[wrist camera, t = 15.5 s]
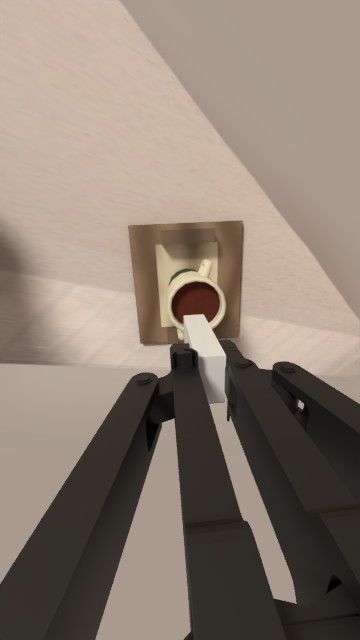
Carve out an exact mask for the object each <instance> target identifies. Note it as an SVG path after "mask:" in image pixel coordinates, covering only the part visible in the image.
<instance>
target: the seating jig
mask: <svg viewBox="0 0 360 640" xmlns="http://www.w3.org/2000/svg"><path fill="white" fill-rule="evenodd" d="M242 225H243V221H223V222H200V223H177V224H154V225H131V226H128V229H129V239H130V248H131V258H132V267H133V276H134V286H135V295H136V305H137V314H138V323H139V333H140V342H141V344H142V343H157V342H168V344H169V343H184V340H180V339H179V338H178V332H177V329H178V328H177V327H176V326H175V325H174V324H173V323H172V321H171V320H170V318H169V314H168V311H167V299H166V298H167V290H168V287H169V283H170V280H171V277H172V276H173V275H174V274H175V273H176V272H177V271H180V270H182V269H185V268H187V269H194V270H196V271H199V268H200V265H201V263H202V261H203V260H204V259H208V260H210V261H211V262H212V270H211V272H210V275H209V278H211V279H212V280H213V281H214V282H215V283H216V284H217V285H218V286H219V288H220V289H221V290H222V292H223V293H224V297H225V301H226V312H225V315H224V317H223V319H222V321H221V322H220V323H219V324H218V326H217V327H215V328H213V329H212V331H213V332H214V334H215V336H216V338H217V339H219V338H234V337H238V331H239V304H240V278H241V251H242Z"/></svg>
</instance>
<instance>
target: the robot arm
mask: <svg viewBox="0 0 360 640" xmlns="http://www.w3.org/2000/svg"><path fill="white" fill-rule="evenodd" d="M183 318H184V343H183V344H173V345H172V346H171V347H170V359H171V372H170V373H169V374H168V375H166V376H164V377H161V378H158V377H157V376H156V375H155V374H153V373H140V374H137V375H135V376H133V377H132V378H131V379H130V381H129V383H128V384H127V385H126V387H125V389H124V390H123V392H122V393H121V395H120V396H119V398H118V400H117V401H116V403H115V405H114V406H113V407H112V409H111V411H110V412H109V414H108V415H107V417H106V418H105V420H104V422H103V423H102V425H101V426H100V428H99V429H98V431H97V433H96V434H95V436H94V437H93V439H92V441H91V442H90V444H89V445H88V447H87V449H86V450H85V451H84V453H83V455H82V456H81V458H80V459H79V461H78V462H77V464H76V466H75V467H74V469H73V471H72V472H71V474H70V475H69V477H68V478H67V480H66V481H65V483H64V485H63V486H62V488H61V490H60V491H59V492H58V494H57V496H56V497H55V499H54V500H53V502H52V503H51V505H50V507H49V508H48V510H47V511H46V513H45V514H44V516H43V518H42V519H41V521H40V522H39V524H38V525H37V527H36V529H35V530H34V532H33V534H32V535H31V537H30V538H29V540H28V541H27V543H26V545H25V546H24V548H23V549H22V551H21V552H20V554H19V555H18V557H17V559H16V560H15V562H14V563H13V565H12V566H11V568H10V570H9V571H8V573H7V574H6V576H5V578H4V579H3V581H2V582H1V584H0V640H95V638H96V635H97V632H98V629H99V625H100V622H101V619H102V616H103V613H104V609H105V606H106V603H107V600H108V597H109V594H110V590H111V587H112V584H113V581H114V578H115V574H116V571H117V568H118V565H119V561H120V558H121V555H122V552H123V549H124V546H125V542H126V539H127V536H128V533H129V530H130V527H131V523H132V520H133V517H134V514H135V511H136V507H137V504H138V501H139V498H140V494H141V492H142V488H143V485H144V482H145V479H146V476H147V472H148V469H149V466H150V463H151V459H152V456H153V453H154V450H155V447H156V444H157V440H158V437H159V434H160V431H161V428H162V422H165V421H168V420H171V419H173V418H175V429H176V442H177V455H178V467H179V481H180V494H181V507H182V520H183V533H184V546H185V559H186V571H187V585H188V598H189V613H190V627H191V632H190V633H189V634H188V635H187V636H186V638H184V640H360V404H359V403H357V402H355V401H354V400H352V399H351V398H349V397H347V396H346V395H344V394H343V393H341V392H340V391H338V390H336V389H335V388H333V387H332V386H330V385H328V384H327V383H325V382H324V381H322V380H320V379H319V378H317V377H316V376H314V375H312V374H311V373H309V372H308V371H306V370H305V369H303V368H301V367H300V366H298V365H296V364H293V363H290V362H277V363H275V364H274V365H273V369H272V370H266V369H259V368H258V367H257V365H256V364H255V363H254V362H253V361H251V360H249V359H245V358H244V357H243V356H242V354H241V353H240V351H239V350H238V348H237V347H236V345H235V344H234V343H233V342H231V341H230V340H217V338H216V336H215V334H214V332H213V331H212V329H211V327H210V325H209V323H208V321H207V320H206V318H205V316H204V314H200V315H184V316H183ZM225 394H226V396H227V399H228V401H227V421H229V419H230V416H231V419H232V422H233V424H234V427H235V429H236V432H237V435H238V437H239V440H240V442H241V445H242V448H243V450H244V453H245V456H246V458H247V461H248V463H249V466H250V468H251V471H252V474H253V476H254V479H255V482H256V484H257V487H258V489H259V492H260V495H261V497H262V500H263V503H264V505H265V508H266V510H267V513H268V515H269V518H270V520H271V523H272V526H273V529H274V531H275V534H276V536H277V539H278V542H279V544H280V547H281V550H282V552H283V555H284V557H285V560H286V562H287V565H288V568H289V570H290V573H291V576H292V579H293V584H294V589H295V595H296V602H297V604H295V603H290V602H286V601H282V600H277V599H273V596H272V592H271V590H270V586H269V584H268V580H267V576H266V574H265V570H264V567H263V564H262V560H261V557H260V554H259V551H258V548H257V544H256V541H255V538H254V535H253V533H252V530H251V527H250V525H249V524H248V522H247V521H244V520H243V518H242V516H241V513H240V510H239V506H238V503H237V499H236V496H235V492H234V489H233V486H232V482H231V479H230V476H229V472H228V469H227V465H226V462H225V458H224V454H223V451H222V448H221V444H220V441H219V437H218V434H217V430H216V427H215V424H214V420H213V417H212V413H211V410H210V406H209V404H211V403H224V402H225ZM299 400H300V401H302V402H303V403H304V408H303V410H302V409H301V408H299V407H298V402H299Z"/></svg>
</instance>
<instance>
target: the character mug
mask: <svg viewBox="0 0 360 640" xmlns="http://www.w3.org/2000/svg"><path fill="white" fill-rule="evenodd" d="M211 270H212V262H211V261H210V260H208V259H204V260H203V261H202V263H201V265H200V268H199V271H196V270H194V269H187V268H185V269H182V270H180V271H177V272H176V273H175V274H174V275H173V276H172V277H171V280H170V283H169V287H168V290H167V298H166V299H167V311H168V314H169V318H170V320H171V321H172V323H173V324H174V325H175V326H176V327H177V328H178V329H177V332H178V338H179V339H180V340H184V318H183V316H184V315H200V314H204V316H205V318H206V320H207V321H208V323H209V325H210V327H211V329H213V328H215V327H217V326H218V324H219V323H220V322H221V321H222V319H223V317H224V315H225V312H226V301H225V297H224V293H223V292H222V290H221V289H220V288H219V286H218V285H217V284H216V283H215V282H214V281H213V280H212V279H211V278H209V275H210V272H211Z"/></svg>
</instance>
